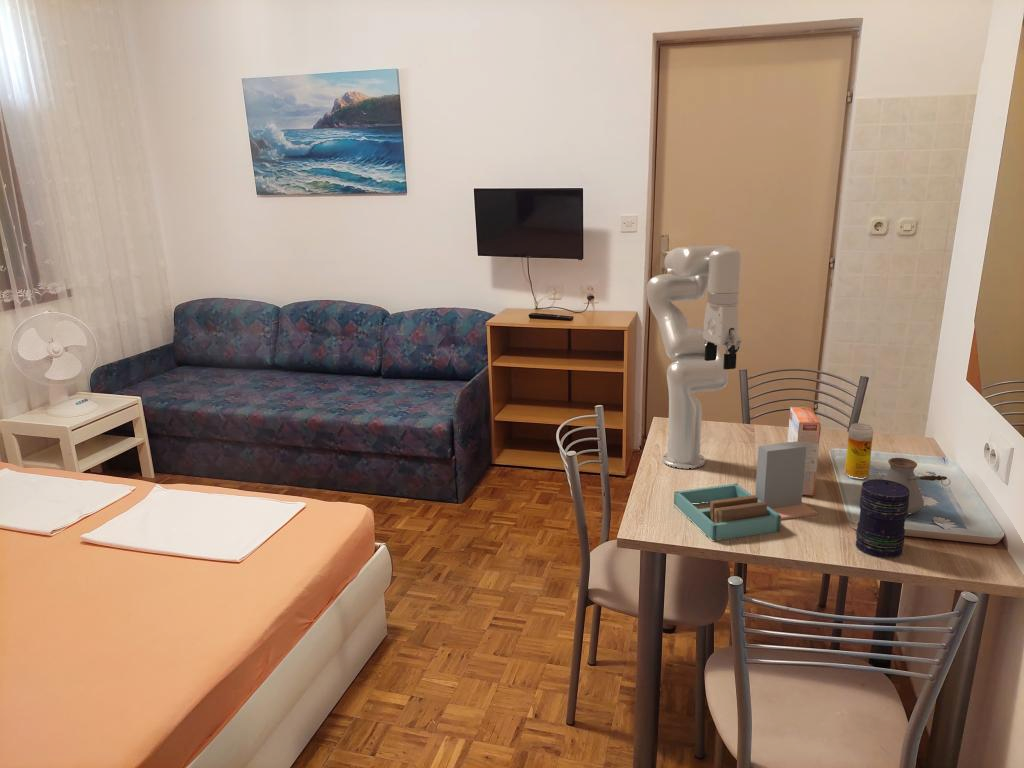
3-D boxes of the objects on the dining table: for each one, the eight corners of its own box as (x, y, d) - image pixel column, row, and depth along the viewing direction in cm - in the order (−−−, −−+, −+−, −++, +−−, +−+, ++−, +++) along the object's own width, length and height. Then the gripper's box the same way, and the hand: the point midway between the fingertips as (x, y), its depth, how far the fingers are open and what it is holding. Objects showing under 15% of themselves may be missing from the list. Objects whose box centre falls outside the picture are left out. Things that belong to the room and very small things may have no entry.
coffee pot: (862, 501, 191) (868, 447, 187) (903, 498, 193) (909, 444, 189) (916, 539, 171) (924, 480, 167) (961, 535, 172) (970, 476, 168)
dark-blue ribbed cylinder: (901, 562, 161) (909, 500, 157) (853, 552, 166) (859, 492, 162) (903, 543, 169) (911, 483, 165) (857, 534, 174) (863, 476, 170)
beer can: (857, 482, 203) (862, 431, 199) (839, 474, 209) (844, 424, 205) (873, 478, 206) (878, 427, 202) (855, 470, 211) (860, 421, 207)
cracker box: (815, 496, 195) (822, 422, 189) (791, 495, 196) (797, 421, 191) (806, 476, 208) (812, 406, 203) (784, 475, 209) (789, 405, 204)
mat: (741, 498, 195) (741, 496, 195) (784, 492, 198) (784, 490, 198) (771, 521, 182) (771, 519, 182) (817, 514, 185) (817, 512, 185)
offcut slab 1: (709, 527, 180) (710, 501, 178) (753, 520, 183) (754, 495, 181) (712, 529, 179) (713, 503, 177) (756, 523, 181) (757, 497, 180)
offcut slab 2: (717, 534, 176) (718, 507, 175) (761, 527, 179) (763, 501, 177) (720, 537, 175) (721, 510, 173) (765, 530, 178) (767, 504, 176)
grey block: (754, 503, 191) (758, 445, 186) (792, 498, 193) (796, 441, 189) (763, 509, 187) (767, 451, 183) (801, 504, 189) (806, 446, 185)
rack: (673, 505, 192) (674, 491, 191) (735, 497, 196) (736, 483, 195) (712, 541, 173) (712, 525, 172) (779, 531, 177) (781, 515, 176)
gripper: (693, 294, 192) (690, 358, 196) (726, 304, 175) (723, 373, 180) (719, 293, 193) (716, 356, 198) (755, 302, 177) (750, 371, 182)
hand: (719, 364), depth 189 cm, fingers open, 9 cm apart
